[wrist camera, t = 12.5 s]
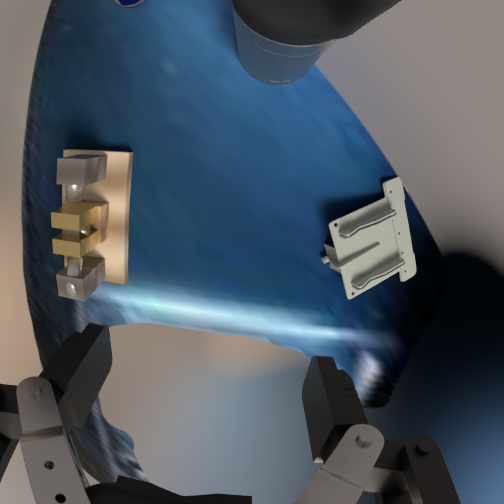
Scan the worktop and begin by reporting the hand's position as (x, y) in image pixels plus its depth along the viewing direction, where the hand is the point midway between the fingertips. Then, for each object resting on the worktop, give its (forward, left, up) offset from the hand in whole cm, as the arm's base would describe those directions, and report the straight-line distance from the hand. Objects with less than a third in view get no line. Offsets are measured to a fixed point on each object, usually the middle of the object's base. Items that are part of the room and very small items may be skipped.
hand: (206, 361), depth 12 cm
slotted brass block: (+4, -19, -26) cm, 32 cm away
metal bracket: (+2, +19, -31) cm, 36 cm away
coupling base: (+4, -19, -30) cm, 36 cm away
